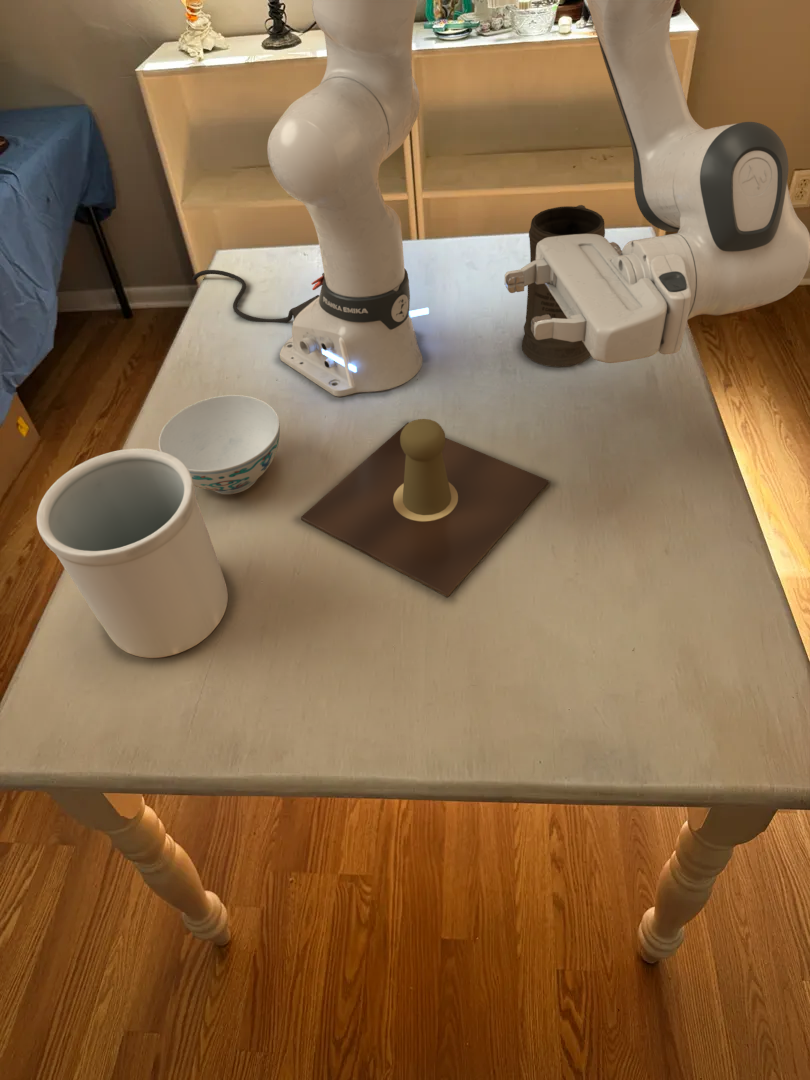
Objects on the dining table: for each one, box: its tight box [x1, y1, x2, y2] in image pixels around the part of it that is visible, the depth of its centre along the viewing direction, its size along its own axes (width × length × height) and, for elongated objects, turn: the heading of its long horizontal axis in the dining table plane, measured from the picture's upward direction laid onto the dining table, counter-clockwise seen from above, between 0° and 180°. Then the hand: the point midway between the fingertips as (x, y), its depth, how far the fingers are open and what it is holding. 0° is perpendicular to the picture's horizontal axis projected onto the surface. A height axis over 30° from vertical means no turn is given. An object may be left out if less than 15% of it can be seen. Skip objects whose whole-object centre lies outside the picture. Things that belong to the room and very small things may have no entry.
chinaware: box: [158, 394, 281, 495], centre depth 100 cm, size 15×15×8 cm
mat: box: [300, 422, 550, 598], centre depth 97 cm, size 22×22×1 cm
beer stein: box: [521, 204, 606, 368], centre depth 113 cm, size 15×11×20 cm
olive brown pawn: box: [400, 418, 451, 515], centre depth 93 cm, size 6×6×11 cm
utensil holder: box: [36, 447, 229, 659], centre depth 82 cm, size 15×15×18 cm
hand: (519, 305), depth 80 cm, fingers open, 8 cm apart
